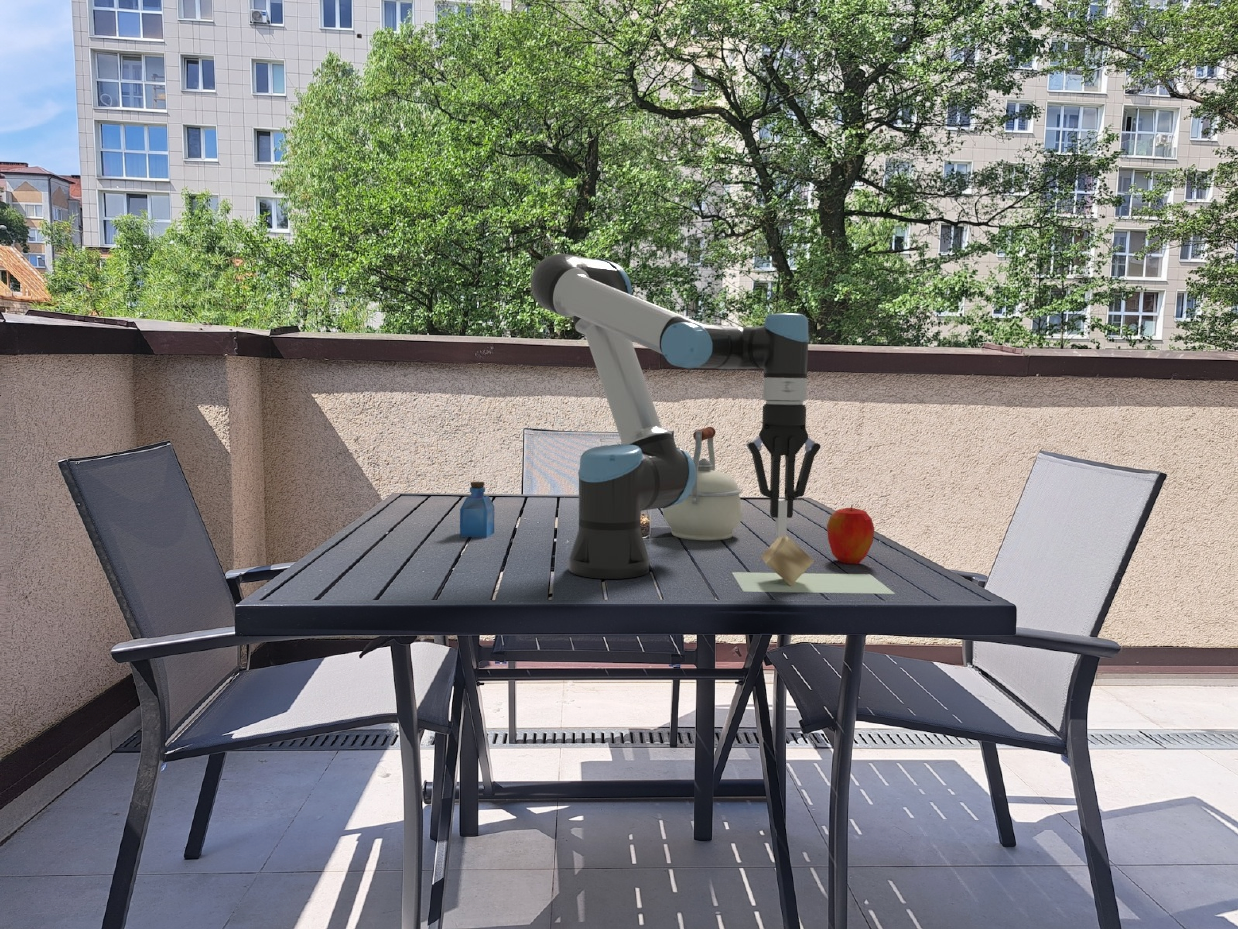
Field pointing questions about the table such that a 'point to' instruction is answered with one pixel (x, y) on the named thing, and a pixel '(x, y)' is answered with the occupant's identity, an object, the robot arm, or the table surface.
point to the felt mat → (811, 583)
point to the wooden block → (787, 559)
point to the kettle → (706, 500)
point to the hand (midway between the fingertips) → (780, 535)
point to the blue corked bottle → (477, 513)
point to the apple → (850, 534)
